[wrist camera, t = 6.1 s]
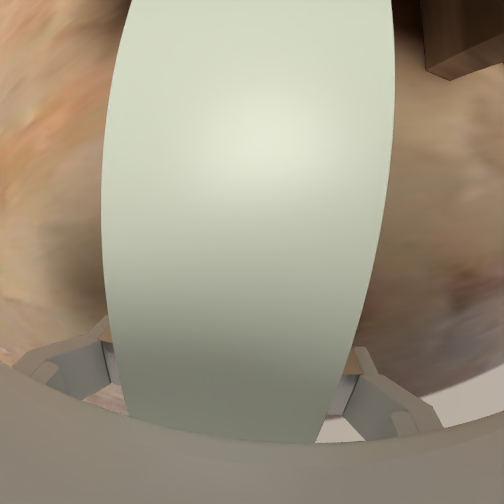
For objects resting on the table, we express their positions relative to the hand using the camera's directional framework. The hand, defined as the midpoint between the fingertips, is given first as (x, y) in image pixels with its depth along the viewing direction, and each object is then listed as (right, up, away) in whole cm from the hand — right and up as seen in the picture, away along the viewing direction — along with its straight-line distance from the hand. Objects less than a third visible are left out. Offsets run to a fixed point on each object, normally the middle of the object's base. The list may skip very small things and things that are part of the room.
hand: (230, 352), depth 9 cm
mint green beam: (+1, +5, 0) cm, 5 cm away
